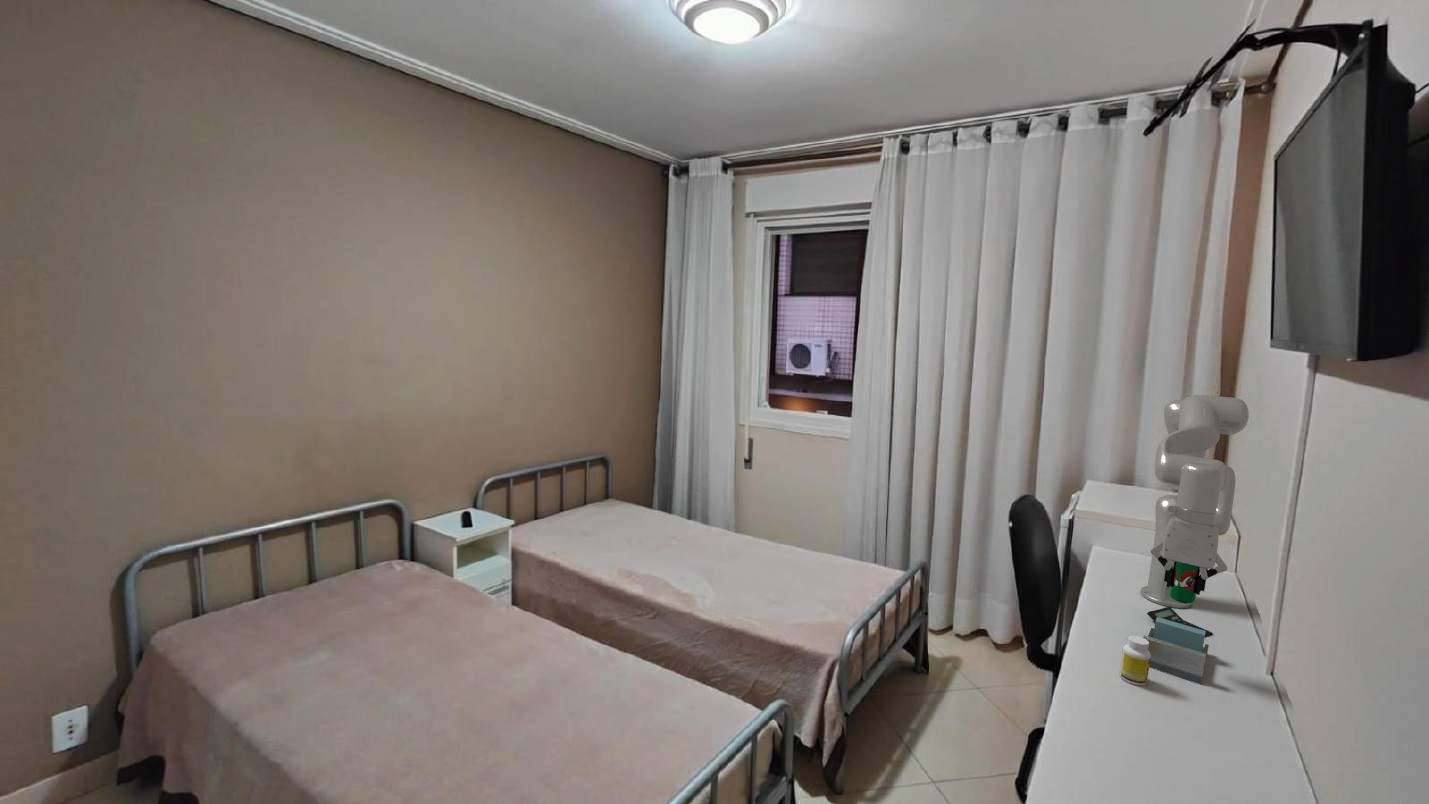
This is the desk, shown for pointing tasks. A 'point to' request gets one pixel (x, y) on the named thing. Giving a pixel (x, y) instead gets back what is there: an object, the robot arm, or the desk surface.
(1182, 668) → the grey tray
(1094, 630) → the desk surface
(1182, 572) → the soda can
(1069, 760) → the desk surface
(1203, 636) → the block
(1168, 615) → the calculator
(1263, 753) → the desk surface
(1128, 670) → the supplement bottle
